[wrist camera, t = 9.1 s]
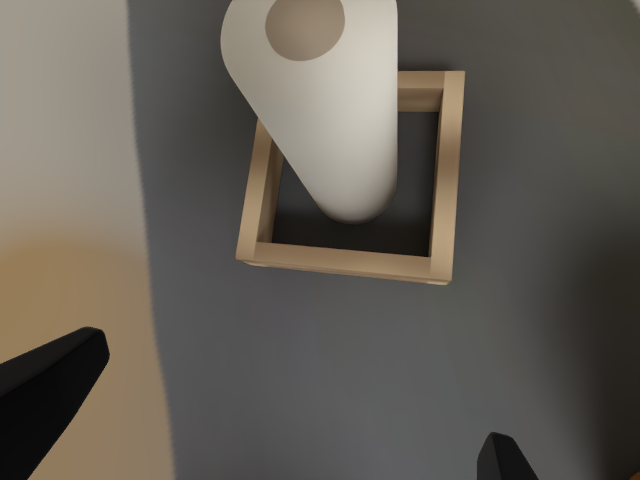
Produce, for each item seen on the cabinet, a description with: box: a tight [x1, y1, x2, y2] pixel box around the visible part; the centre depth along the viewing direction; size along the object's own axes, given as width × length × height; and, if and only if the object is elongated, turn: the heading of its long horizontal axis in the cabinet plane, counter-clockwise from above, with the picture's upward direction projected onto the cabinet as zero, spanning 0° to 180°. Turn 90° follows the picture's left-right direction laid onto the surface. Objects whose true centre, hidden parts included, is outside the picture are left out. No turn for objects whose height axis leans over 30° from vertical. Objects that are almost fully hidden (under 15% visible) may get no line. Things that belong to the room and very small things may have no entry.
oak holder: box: [235, 71, 465, 285], centre depth 23 cm, size 11×11×2 cm
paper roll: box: [221, 0, 397, 224], centre depth 17 cm, size 5×5×13 cm
